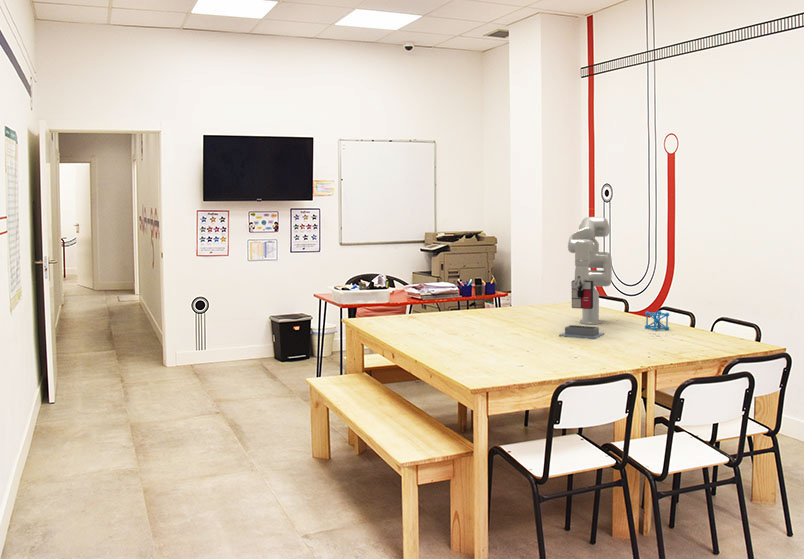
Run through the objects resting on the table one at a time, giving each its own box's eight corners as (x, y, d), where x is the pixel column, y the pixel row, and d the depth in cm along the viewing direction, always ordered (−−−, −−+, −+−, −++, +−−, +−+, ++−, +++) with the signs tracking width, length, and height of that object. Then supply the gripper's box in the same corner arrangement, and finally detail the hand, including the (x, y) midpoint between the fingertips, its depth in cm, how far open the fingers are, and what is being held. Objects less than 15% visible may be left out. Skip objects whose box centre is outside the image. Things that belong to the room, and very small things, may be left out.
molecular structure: (669, 330, 407) (670, 312, 406) (653, 331, 405) (654, 313, 404) (659, 327, 417) (660, 310, 416) (643, 328, 415) (644, 311, 414)
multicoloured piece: (571, 308, 397) (570, 281, 395) (573, 307, 401) (573, 280, 399) (591, 309, 392) (591, 281, 390) (593, 308, 395) (593, 280, 394)
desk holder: (569, 331, 410) (569, 323, 409) (604, 334, 399) (604, 326, 399) (559, 336, 396) (559, 328, 396) (595, 339, 386) (595, 330, 385)
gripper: (580, 262, 403) (580, 295, 404) (570, 264, 389) (570, 298, 390) (593, 262, 399) (593, 295, 400) (583, 264, 385) (583, 299, 386)
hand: (582, 296), depth 395 cm, fingers closed on multicoloured piece, 3 cm apart
